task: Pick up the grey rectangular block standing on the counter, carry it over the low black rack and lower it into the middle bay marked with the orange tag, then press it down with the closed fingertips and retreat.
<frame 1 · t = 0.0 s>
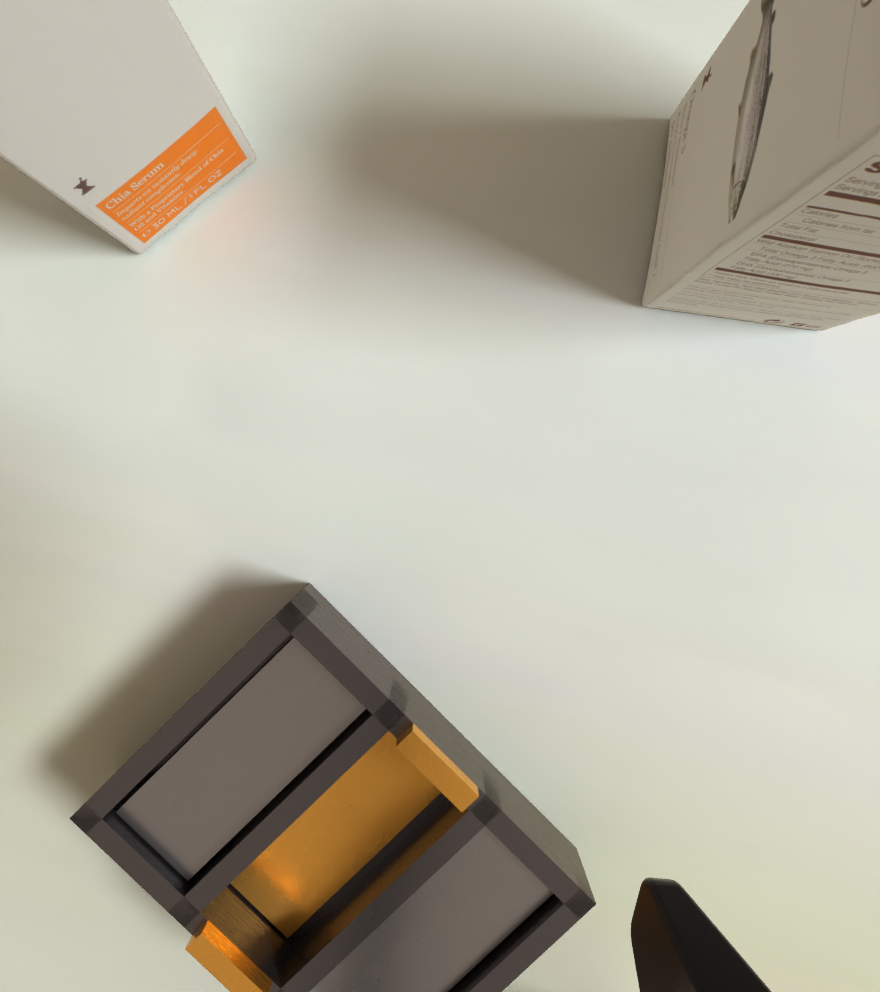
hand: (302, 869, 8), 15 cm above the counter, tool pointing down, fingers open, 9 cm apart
rack: (347, 810, 24), on the counter
supplement box: (742, 230, 23), on the counter
skincare box: (170, 167, 22), on the counter
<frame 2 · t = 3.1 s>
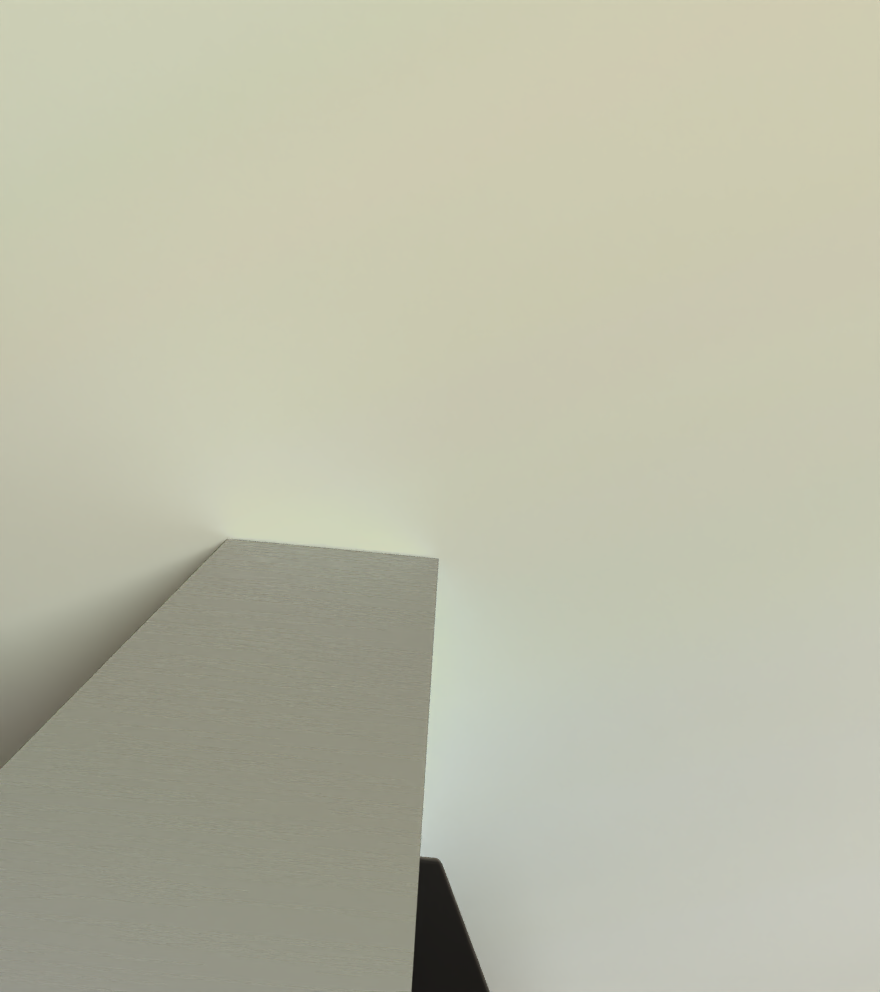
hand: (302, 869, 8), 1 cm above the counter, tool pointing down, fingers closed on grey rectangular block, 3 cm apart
grey rectangular block: (323, 789, 9), on the counter, touching gripper
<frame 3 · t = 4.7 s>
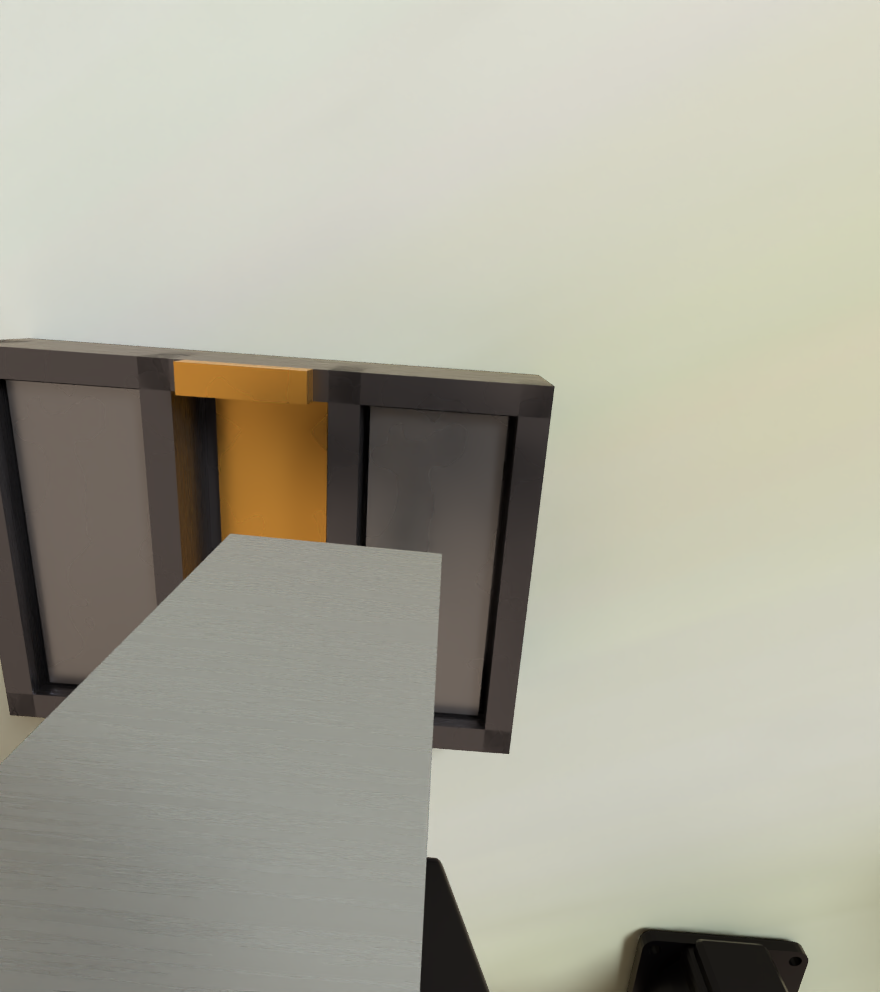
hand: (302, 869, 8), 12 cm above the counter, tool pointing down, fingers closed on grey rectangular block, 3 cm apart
grey rectangular block: (326, 785, 9), point 11 cm above the counter, touching gripper
rack: (284, 530, 19), on the counter
when the fingers open (4 cm above the counter, at t = 6.6 s): grey rectangular block drops 2 cm, resting on rack.
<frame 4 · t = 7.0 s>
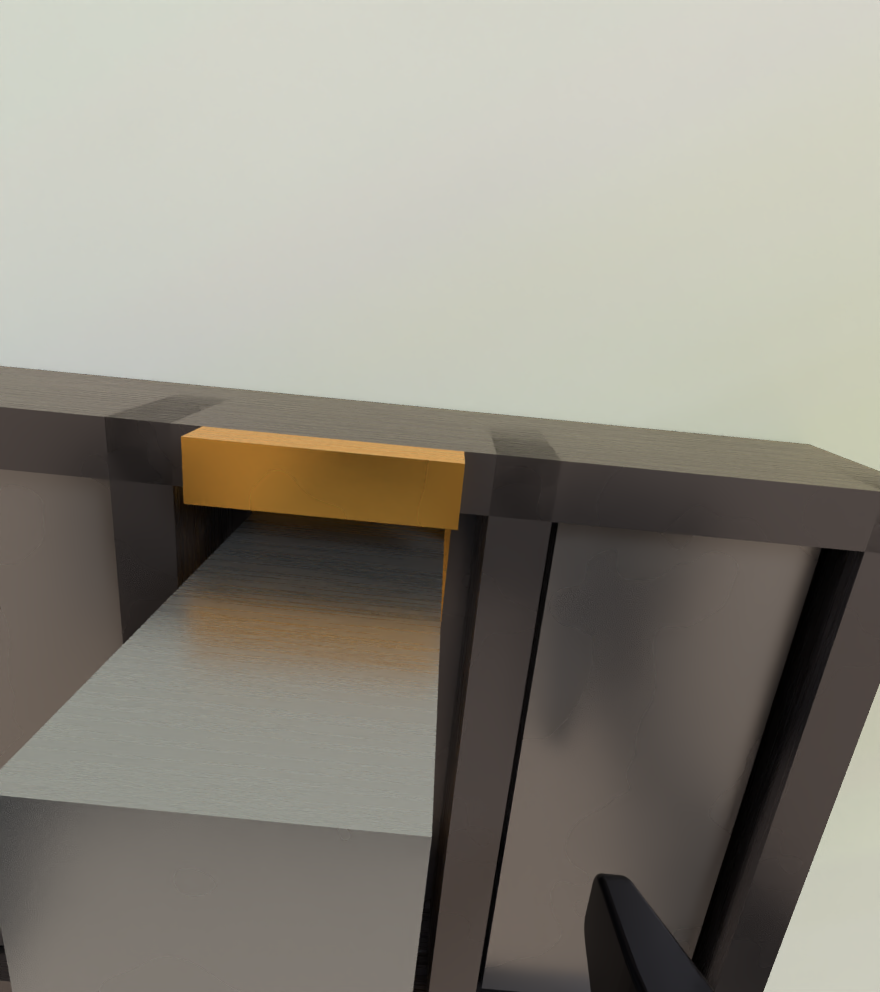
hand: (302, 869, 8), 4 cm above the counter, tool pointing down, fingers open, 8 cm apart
grey rectangular block: (344, 714, 11), point 1 cm above the counter, touching rack
rack: (352, 676, 12), on the counter
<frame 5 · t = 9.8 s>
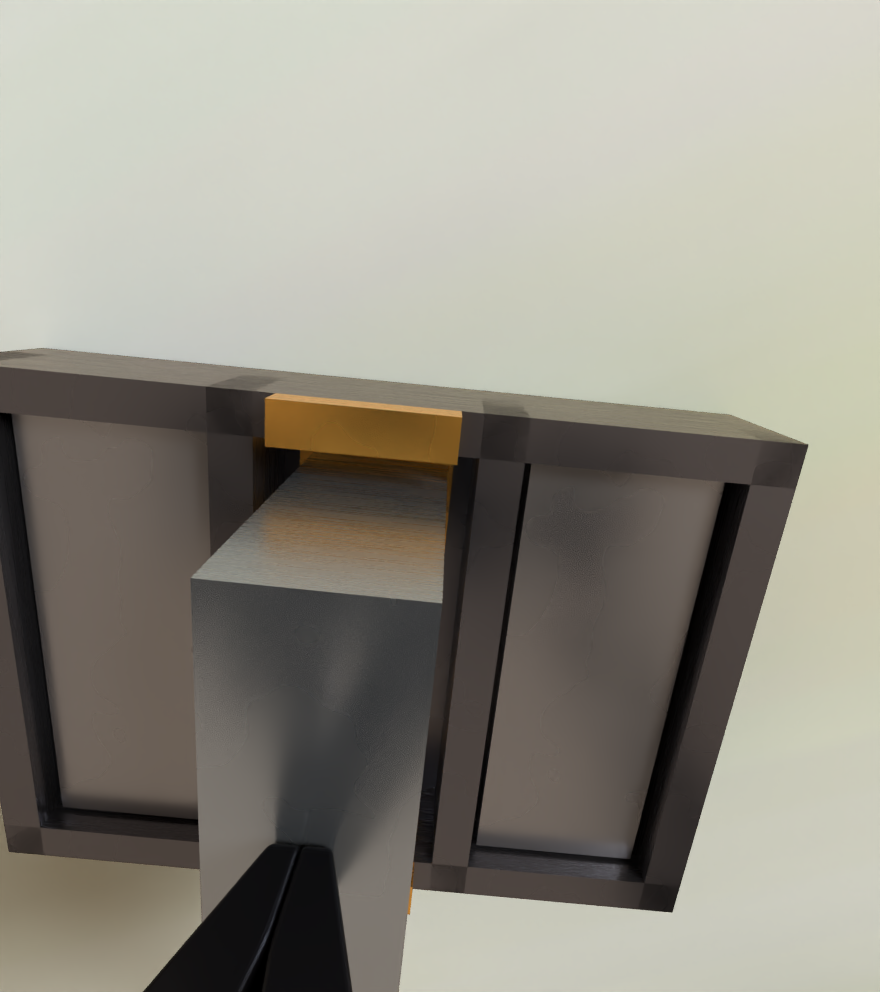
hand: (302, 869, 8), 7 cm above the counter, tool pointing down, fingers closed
grey rectangular block: (368, 627, 13), point 1 cm above the counter, touching rack
rack: (373, 604, 15), on the counter
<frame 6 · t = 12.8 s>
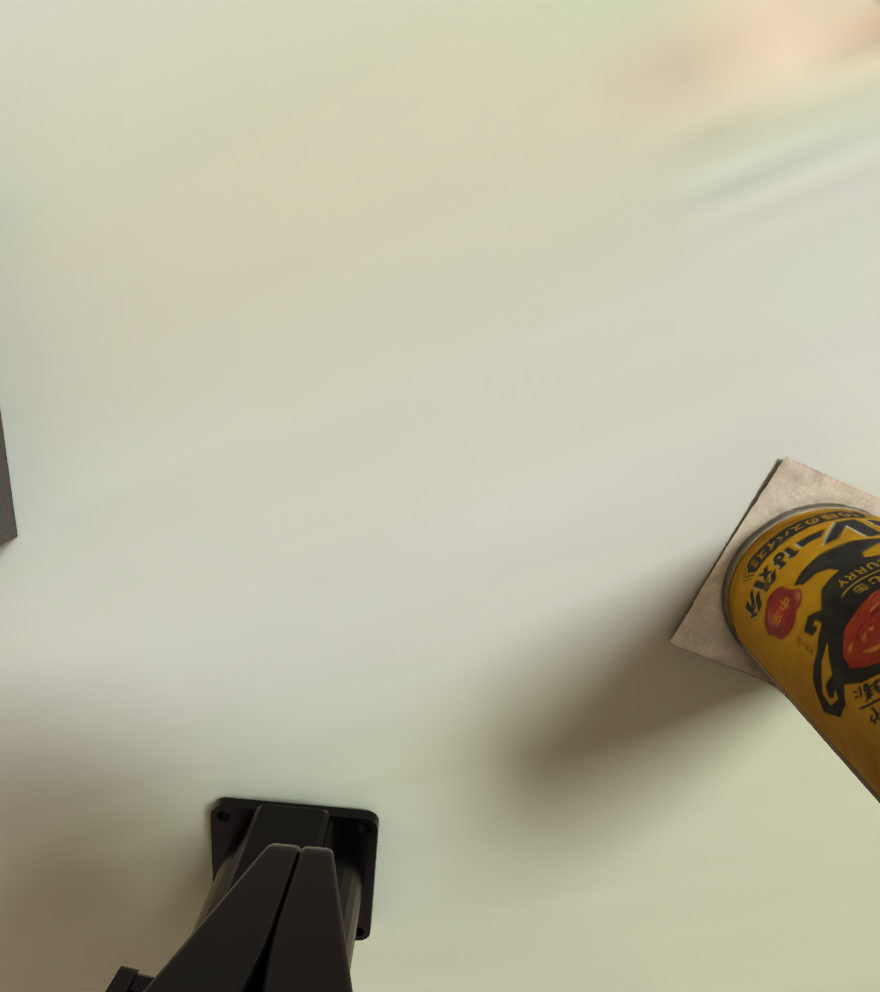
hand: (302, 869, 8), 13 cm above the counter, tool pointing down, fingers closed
condiment: (825, 594, 20), on the counter
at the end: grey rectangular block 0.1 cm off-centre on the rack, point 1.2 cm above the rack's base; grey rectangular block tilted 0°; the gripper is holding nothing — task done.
